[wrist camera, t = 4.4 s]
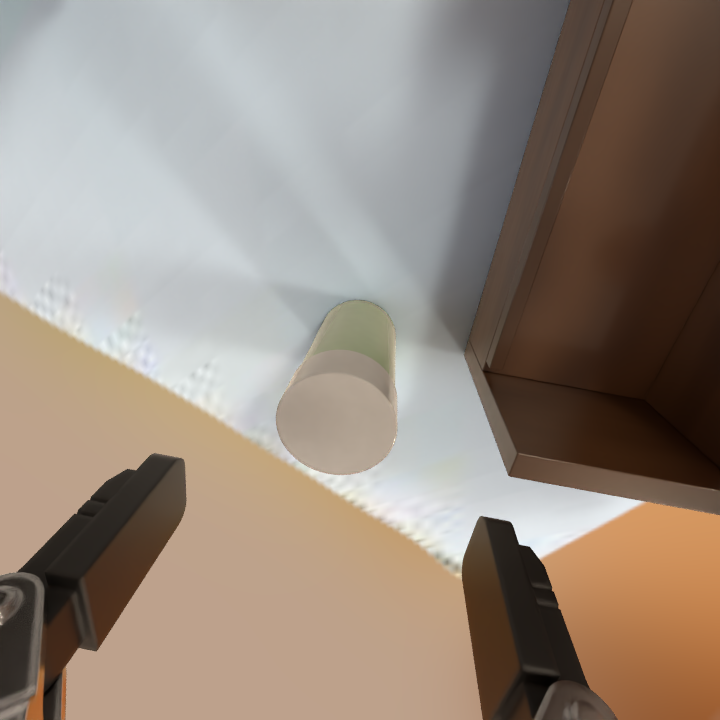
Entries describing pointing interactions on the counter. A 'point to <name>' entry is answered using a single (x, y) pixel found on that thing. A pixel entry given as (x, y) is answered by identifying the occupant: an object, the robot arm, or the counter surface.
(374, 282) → the counter surface
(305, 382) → the cylinder
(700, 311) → the spice rack
